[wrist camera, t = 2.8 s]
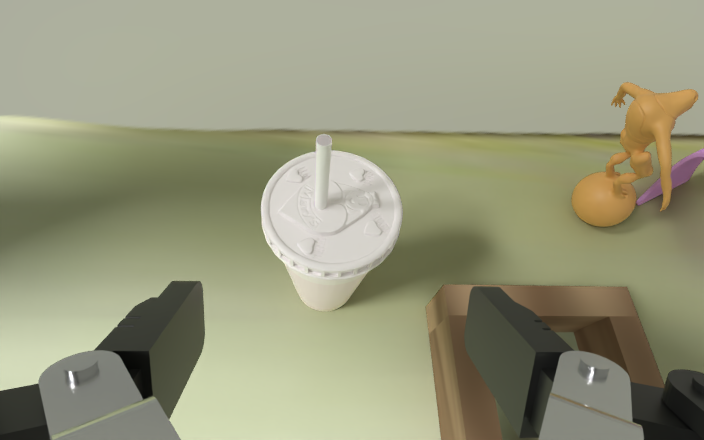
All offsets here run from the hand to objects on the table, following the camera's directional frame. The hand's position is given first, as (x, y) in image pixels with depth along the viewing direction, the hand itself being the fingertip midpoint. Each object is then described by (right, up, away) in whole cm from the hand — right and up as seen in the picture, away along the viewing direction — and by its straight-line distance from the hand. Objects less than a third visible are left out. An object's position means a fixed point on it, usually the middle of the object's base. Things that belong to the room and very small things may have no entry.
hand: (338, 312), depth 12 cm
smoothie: (-1, -1, +14) cm, 14 cm away
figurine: (+17, +3, +19) cm, 26 cm away
